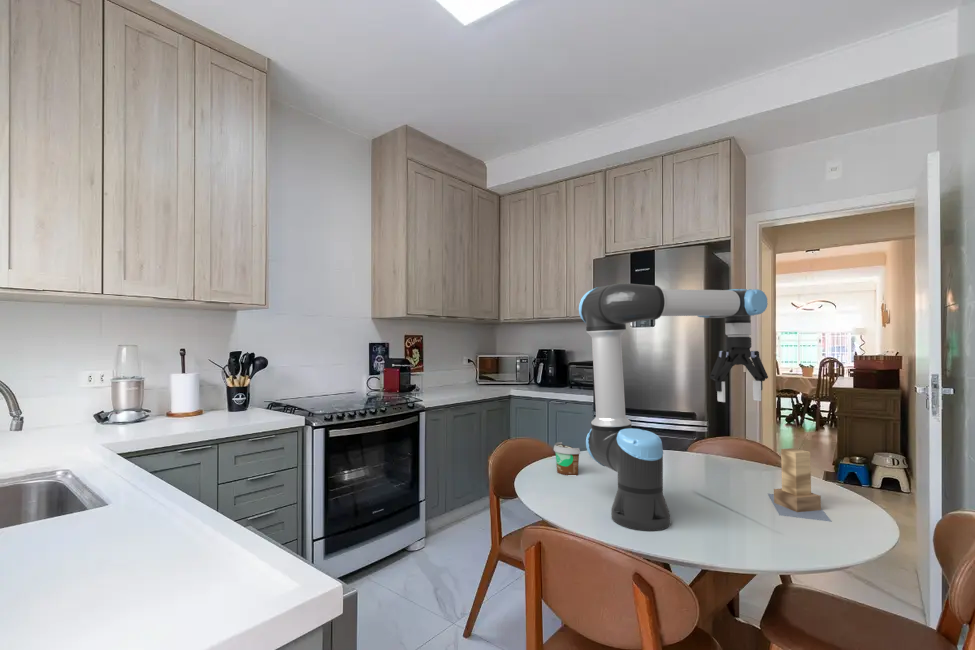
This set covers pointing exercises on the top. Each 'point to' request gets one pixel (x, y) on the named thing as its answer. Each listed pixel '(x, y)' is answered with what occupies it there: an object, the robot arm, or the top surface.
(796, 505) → the base block
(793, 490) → the pillar block
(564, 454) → the food container
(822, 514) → the blueprint mat
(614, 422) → the robot arm
